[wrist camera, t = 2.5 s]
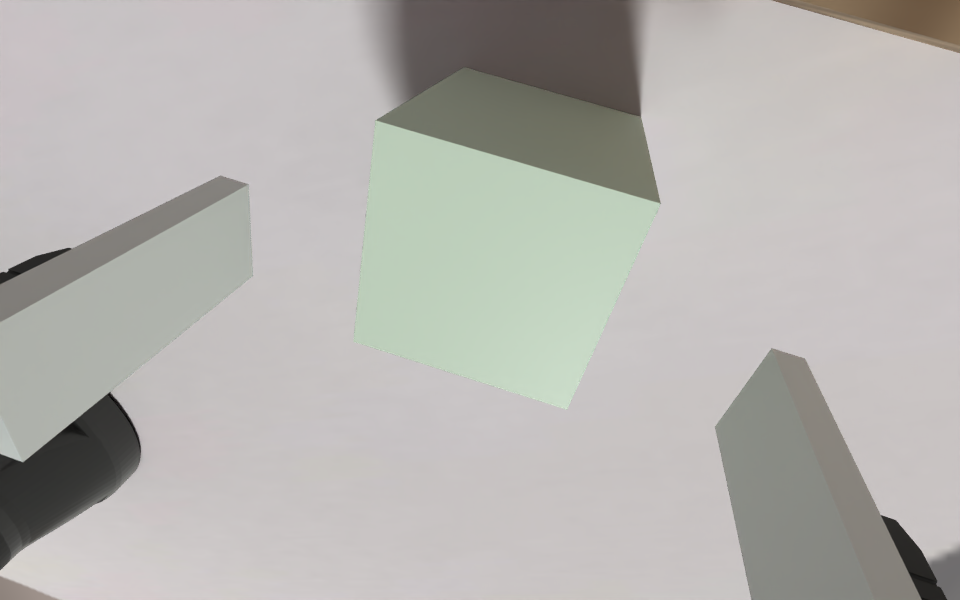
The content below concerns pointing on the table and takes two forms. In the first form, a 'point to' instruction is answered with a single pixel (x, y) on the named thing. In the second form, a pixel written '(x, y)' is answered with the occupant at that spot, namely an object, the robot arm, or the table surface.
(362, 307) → the sage block
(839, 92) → the table surface
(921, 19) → the walnut slab
